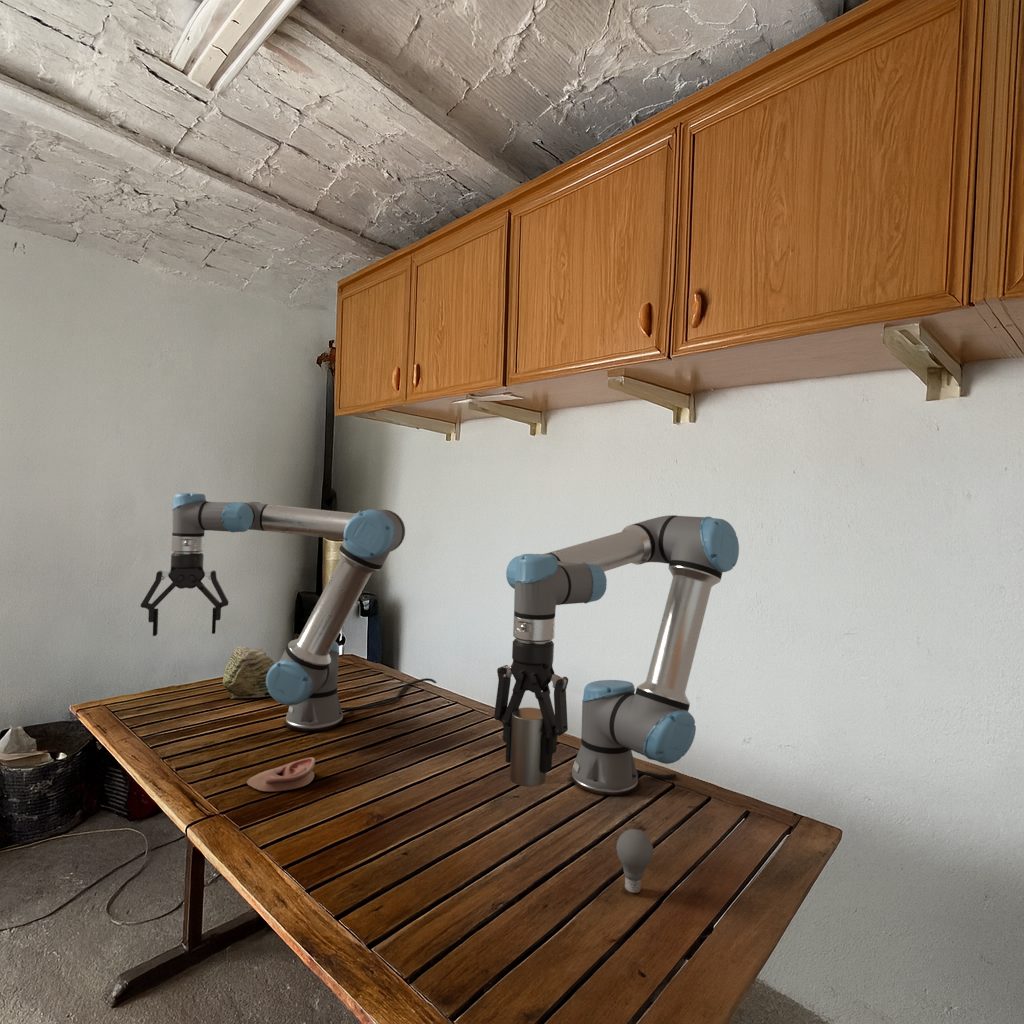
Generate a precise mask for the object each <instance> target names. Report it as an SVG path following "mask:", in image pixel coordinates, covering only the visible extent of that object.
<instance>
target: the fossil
mask: <svg viewBox="0 0 1024 1024" xmlns="http://www.w3.org/2000/svg"><path fill="white" fill-rule="evenodd" d="M275 663H276V662H274V660H273V659H272V658H271V657H270V656H269V655H268V654H267V653H266V652H265V650H264V649H263V648H260V647H258V648H251V647H247V646H246V647H245V646H238V647H237V648H236V649H235V650H233V651H232V653H231V656H230V657H229V659H228V660H227V663H226V666H225V668H224V671H223V675H222V676H223V677H222V685H223V687H224V688H225V690H226V691H228V693H229V698H230V699H250V698H264V697H271V695H270V694H269V692H268V688H267V686H266V676H267V673H268V671H269V670H270V668H271V667H272V666H273V665H274V664H275Z"/></svg>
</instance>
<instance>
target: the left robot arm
mask: <svg viewBox="0 0 1024 1024" xmlns="http://www.w3.org/2000/svg"><path fill="white" fill-rule="evenodd" d="M171 512H172V530H171V531H172V533H171V546H170V547H171V549H170V550H171V552H172V553H171V554H170V570H169V571H163V570H157V572H156V573H155V580H154V582H153V583H152V585H151V586H150V588H149V590H148V592H147V593H146V595H145V596H144V598H143V600H142V601H141V603H140V608H142V609H147V610H148V623H152V624H153V625H152V637H156V636H157V635H158V630H159V629H158V628H159V608H156V607H157V606H158V605H159V604H160V603H161V602H162V601H163V600H164V599H165V598H166V597H167V596H168V595H169V594H170V593H171V592H172V591H173V590H174V589H175V588H178V589H180V590H181V589H182V590H183V589H188V590H189V589H194V588H197V590H199V591H200V592H201V593H202V594H203V596H205V598H207V600H208V601H209V602H210V603H211V604H212V605H213V606H214V607H212V615H211V616H212V617H211V618H212V619H211V634H212V635H216V632H217V631H216V629H217V628H216V627H217V621H220V620H221V617H222V608H224V607H227V606H228V605H229V602H230V601H229V599H228V597H227V596H226V594H225V591H224V590H223V588H222V586H221V584H220V582H219V580H218V578H217V571H216V570H213V569H212V570H211V571H205V570H204V557H205V556H204V553H202V552H203V551H204V550H205V531H211V532H212V531H215V532H229V533H245V532H247V531H248V530H249V531H260V532H273V533H281V534H289V535H297V536H306V537H307V536H308V537H316V538H324V539H325V538H326V539H334V540H342V542H341V544H340V546H339V548H338V553H339V555H340V559H339V561H338V563H337V565H336V567H335V568H334V570H333V572H332V574H331V576H330V577H329V580H328V582H327V584H326V585H325V587H324V589H323V591H322V593H321V595H320V597H319V598H318V600H317V603H316V604H315V605H314V607H313V610H312V611H311V613H310V616H309V617H308V619H307V621H306V623H305V625H304V627H303V629H302V631H300V632H301V633H300V634H299V636H298V638H295V639H293V640H290V641H289V642H288V644H287V646H286V648H285V650H284V651H283V653H282V655H281V656H280V658H279V661H276V662H274V663H275V664H274V665H273V666H272V667H271V668H270V670H269V671H268V673H267V676H266V686H267V688H268V692H269V694H270V695H271V696H270V697H271V698H272V699H273V700H274V701H275V702H277V703H279V704H280V705H284V706H288V711H287V713H286V715H285V726H286V728H287V729H289V730H291V731H294V732H295V731H296V732H301V733H316V732H325V731H329V730H332V729H335V728H337V727H339V726H340V725H342V723H343V722H344V713H343V711H353V710H362V709H368V708H372V707H377V706H378V707H379V706H382V705H386V704H390V703H392V702H395V701H397V700H398V699H400V697H401V695H402V693H403V692H404V691H405V689H406V688H407V687H409V686H412V685H415V684H419V683H422V682H432V683H433V684H437V683H438V682H437V681H436V680H435V679H433V678H428V677H427V678H426V677H425V678H420V679H417V680H414V681H411V682H409V683H406V684H404V685H403V686H402V687H401V689H400V690H399V691H398V694H397V695H396V696H395V697H392V698H390V699H388V700H383V701H379V702H375V703H371V704H365V705H358V706H350V707H349V706H348V707H347V706H344V707H343V706H341V702H340V699H339V695H338V682H339V662H340V661H339V660H340V659H339V657H340V645H339V643H338V642H337V639H338V637H339V635H340V633H341V631H342V629H343V627H344V626H345V624H346V622H347V620H348V618H349V616H350V614H351V613H352V611H353V609H354V608H355V605H356V603H357V601H358V599H359V598H360V596H361V594H362V592H363V590H364V589H365V586H366V585H367V583H368V582H369V579H370V577H371V575H372V574H373V573H376V572H378V571H381V569H382V567H383V566H384V564H385V562H386V561H387V558H388V556H389V555H390V553H391V552H393V551H395V550H397V549H398V548H399V547H400V546H401V545H402V543H403V542H404V539H405V537H406V526H405V522H404V521H403V519H402V518H401V517H400V515H398V514H397V513H396V512H394V511H392V510H390V509H389V510H388V509H366V510H362V509H360V510H359V511H358V512H356V513H355V512H348V511H347V512H346V511H338V510H326V509H319V508H308V507H298V506H288V505H279V504H271V503H270V504H269V503H268V504H267V503H262V502H257V501H248V502H239V501H238V502H237V501H235V502H234V501H233V502H231V501H230V502H227V501H208V500H207V497H206V495H205V494H204V493H191V492H177V493H175V494H174V496H173V503H172V508H171ZM167 577H168V578H169V580H170V581H171V583H170V584H169V586H168V587H167V588H165V590H164V591H162V592H161V593H160V595H158V596H157V597H156V598H155V599H154V600H153V602H152V603H151V602H150V601H151V599H152V597H153V595H154V594H155V592H156V591H157V589H158V587H159V586H160V584H161V582H162V581H164V580H165V579H166V578H167ZM205 577H207V580H210V581H211V584H212V585H213V587H214V588H215V591H216V593H217V595H218V597H219V599H220V601H219V600H218V598H217V597H216V596H215V595H214V594H213V593H212V592H211V591H210V590H209V589H208V588H207V587H206V586H205V584H204V583H203V581H202V580H204V578H205Z"/></svg>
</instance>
